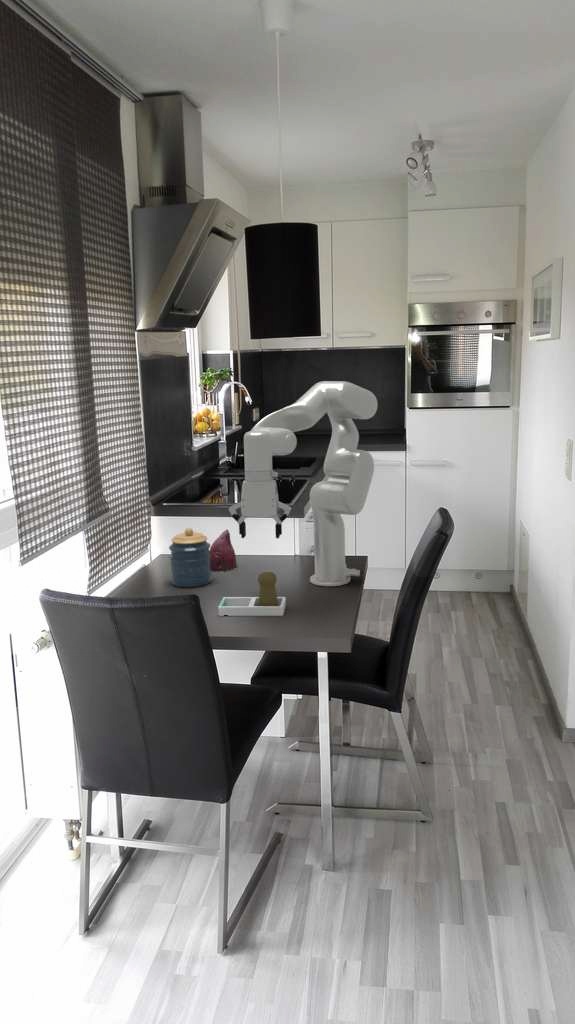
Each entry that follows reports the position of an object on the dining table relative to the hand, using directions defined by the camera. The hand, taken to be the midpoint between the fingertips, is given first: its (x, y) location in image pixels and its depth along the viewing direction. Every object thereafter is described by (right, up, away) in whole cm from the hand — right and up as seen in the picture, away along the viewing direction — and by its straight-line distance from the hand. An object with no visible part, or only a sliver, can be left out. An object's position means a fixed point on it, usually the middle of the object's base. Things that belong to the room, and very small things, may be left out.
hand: (260, 537), depth 229 cm
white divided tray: (-2, -21, +3) cm, 21 cm away
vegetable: (-15, -12, +49) cm, 53 cm away
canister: (-23, -16, +33) cm, 43 cm away
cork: (+2, -21, +3) cm, 21 cm away
